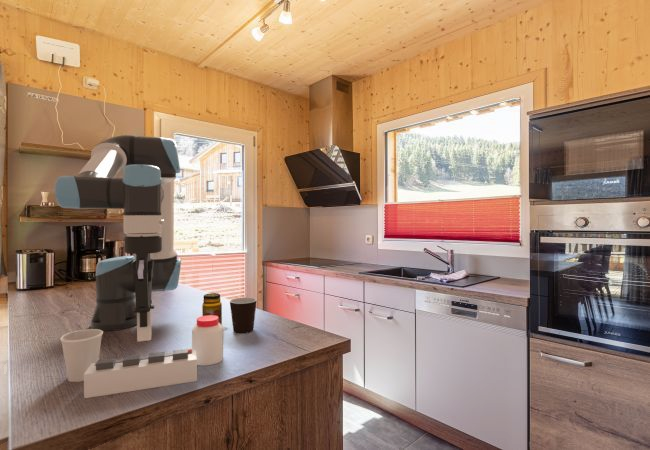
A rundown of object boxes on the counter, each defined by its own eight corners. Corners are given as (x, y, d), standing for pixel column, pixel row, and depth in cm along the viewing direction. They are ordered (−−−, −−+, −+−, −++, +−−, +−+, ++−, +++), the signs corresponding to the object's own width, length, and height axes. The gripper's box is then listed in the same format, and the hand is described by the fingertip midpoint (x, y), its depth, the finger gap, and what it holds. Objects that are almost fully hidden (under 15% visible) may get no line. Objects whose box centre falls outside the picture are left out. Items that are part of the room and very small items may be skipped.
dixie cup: (83, 386, 80) (83, 341, 79) (51, 383, 81) (50, 339, 81) (112, 370, 88) (111, 329, 87) (82, 367, 89) (81, 327, 89)
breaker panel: (91, 385, 80) (90, 357, 80) (196, 370, 88) (196, 344, 87) (84, 398, 74) (83, 367, 74) (197, 380, 82) (196, 353, 82)
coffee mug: (250, 335, 113) (250, 304, 113) (225, 333, 115) (225, 302, 114) (264, 324, 124) (263, 296, 124) (240, 323, 126) (240, 294, 126)
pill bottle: (229, 357, 96) (229, 316, 95) (205, 368, 89) (205, 324, 89) (210, 351, 100) (209, 312, 99) (185, 361, 93) (185, 319, 93)
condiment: (214, 335, 114) (214, 297, 113) (192, 332, 116) (191, 295, 116) (227, 328, 121) (227, 292, 120) (206, 325, 123) (205, 291, 123)
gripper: (159, 236, 75) (160, 347, 76) (163, 233, 87) (164, 329, 88) (118, 237, 73) (120, 352, 73) (128, 233, 85) (129, 332, 85)
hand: (144, 339), depth 81 cm, fingers closed
